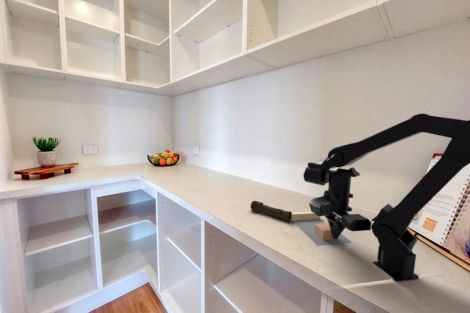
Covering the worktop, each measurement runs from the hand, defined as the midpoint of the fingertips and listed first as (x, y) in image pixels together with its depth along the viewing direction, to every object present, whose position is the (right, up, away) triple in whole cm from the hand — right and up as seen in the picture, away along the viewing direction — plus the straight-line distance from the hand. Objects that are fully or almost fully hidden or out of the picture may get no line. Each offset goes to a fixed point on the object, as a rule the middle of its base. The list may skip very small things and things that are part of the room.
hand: (334, 238), depth 59 cm
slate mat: (-1, -1, +9) cm, 9 cm away
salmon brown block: (-1, -1, +5) cm, 5 cm away
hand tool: (-17, 0, +21) cm, 27 cm away
